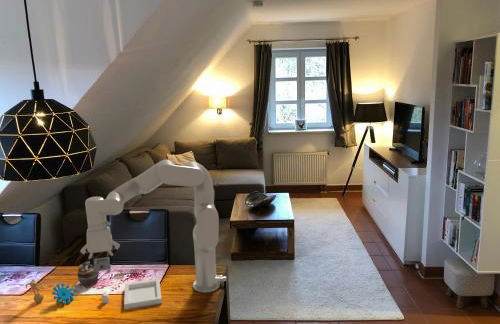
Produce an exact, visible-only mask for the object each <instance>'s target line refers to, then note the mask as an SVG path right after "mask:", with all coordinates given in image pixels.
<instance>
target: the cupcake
mask: <svg viewBox="0 0 500 324" xmlns="http://www.w3.org/2000/svg"><path fill="white" fill-rule="evenodd" d="M78 267H79V268H78V270H77V279H78V282H79V284H80V287H83V288H88V287H92V285H93V286H95V285H97V283H98V281H99V272H100V271H95V272H94V271H93V267H92V265H90V260H89V261H85V262H83V263H81V264H80V265H78ZM94 284H95V285H94Z"/></svg>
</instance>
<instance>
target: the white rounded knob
mask: <svg viewBox="0 0 500 324" xmlns="http://www.w3.org/2000/svg"><path fill="white" fill-rule="evenodd" d="M101 301H102V304H109V302H110V296H109V293H108V292H107V291H103V293H102V294H101Z"/></svg>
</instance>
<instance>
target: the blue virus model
mask: <svg viewBox="0 0 500 324" xmlns="http://www.w3.org/2000/svg"><path fill="white" fill-rule="evenodd" d="M65 285H66V283H64V282H63V283H61V284H60V283H57V284H56V286H54V287H53V288H52V290H53V291H52V292H51V294H52V295H53V299H54V300H57V303H58V304H60V303H61V304H63V305H66V304H70V303H72V301H73V300H74V299H75V295H76V293H75V292H73V291H74V290H75V286H72V287H70V286H71V285H69V284H67V285H66V286H65ZM64 286H65V287H64Z"/></svg>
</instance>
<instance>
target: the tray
mask: <svg viewBox="0 0 500 324" xmlns="http://www.w3.org/2000/svg"><path fill="white" fill-rule="evenodd" d="M161 291H162V289H161V282H160V278H155V279H149V280H143V281H137V282H128V283H124V297H123V298H124V299H123V301H124V302H123V306H124V310H131V309H137V308H143V307H149V306H155V305H160V304H163V302H162V294H161V293H162V292H161Z"/></svg>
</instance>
